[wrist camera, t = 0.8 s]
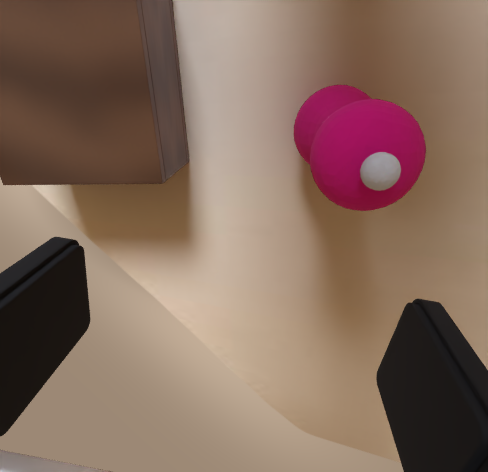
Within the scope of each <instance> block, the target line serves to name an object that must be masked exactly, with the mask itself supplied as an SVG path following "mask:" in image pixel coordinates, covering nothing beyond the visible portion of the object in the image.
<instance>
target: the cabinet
mask: <svg viewBox="0 0 488 472" xmlns="http://www.w3.org/2000/svg"><path fill="white" fill-rule="evenodd" d="M188 162H189V154H188V145H187V136H186V127H185V117H184V108H183V99H182V89H181V80H180V71H179V62H178V52H177V43H176V34H175V24H174V15H173V6H172V0H0V177H1V180H2V183H3V185H62V184H162V183H164V182H165V181H166V180H167V179H168V178H170V177H171V176H172V175H173V174H174V173H176V172H177V171H178V170H179V169H180V168H182V167H183V166H184V165H185V164H186V163H188Z"/></svg>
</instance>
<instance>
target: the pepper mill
mask: <svg viewBox="0 0 488 472" xmlns="http://www.w3.org/2000/svg"><path fill="white" fill-rule="evenodd" d="M294 140H295V144H296V147H297V149H298V151H299V153H300V155H301V156H302V157H303V158H304V160H305V161H306V162H307V163H308V164H310V167H311V172H312V175H313V178H314V181H315V183H316V185H317V186H318V188H319V189H320V190H321V192H322V193H323V194H324V195H325V196H326V197H327V198H328V199H329V200H331V201H332V202H334V203H335V204H337V205H339V206H342V207H344V208H348V209H352V210H360V211H368V210H375V209H379V208H383V207H386V206H388V205H390V204H392V203H394V202H396V201H397V200H399V199H400V198H402V197H403V196H404V195H405V194H406V193H407V192H408V191H409V190H410V189H411V188H412V186H413V185H414V183H415V182H416V181H417V179H418V177H419V175H420V173H421V171H422V168H423V165H424V161H425V154H426V146H425V140H424V135H423V133H422V131H421V128H420V126H419V124H418V122H417V121H416V120H415V119H414V118H413V116H412V115H411V114H409V113H408V112H407V111H406V110H405V109H403V108H402V107H400V106H398V105H396V104H394V103H392V102H388V101H384V100H380V99H371V98H370V97H369V96H368V95H367V94H365V93H364V92H362V91H361V90H359V89H357V88H355V87H352V86H348V85H334V86H328V87H326V88H323V89H321V90H319V91H317V92H316V93H314V94H313V95H312V96H310V97H309V98H308V99H307V100H306V101H305V103H304V104H303V105H302V107H301V108H300V110H299V112H298V114H297V117H296V120H295V125H294Z"/></svg>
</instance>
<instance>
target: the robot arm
mask: <svg viewBox="0 0 488 472" xmlns="http://www.w3.org/2000/svg"><path fill="white" fill-rule="evenodd" d="M85 267H86V266H85V256H84V249H83V247H82V246H79V243H78V242H77V241H76V240H72V239H66V238H61V237H54V238H51V239H50V240H49V241H47V242H46V243H44V244H43V245H41V246H40V247H38V248H37V249H35V250H34V251H32V252H31V253H30V254H28V255H27V256H25V257H24V258H22V259H21V260H19V261H18V262H16V263H15V264H13V265H12V266H11V267H9V268H8V269H6V270H5V271H3V272H2V273H0V436H2V435H4V434H5V433H6V432H7V431H8V430H9V429H10V427H11V426H12V425H13V424H14V422H15V421H16V420H17V418H18V417H19V416H20V415H21V413H22V412H23V411H24V409H25V408H26V407H27V406H28V404H29V403H30V402H31V401H32V399H33V398H34V397H35V395H36V394H37V393H38V392H39V390H40V389H41V388H42V387H43V385H44V384H45V383H46V382H47V380H48V379H49V378H50V376H51V375H52V374H53V373H54V371H55V370H56V369H57V368H58V366H59V365H60V364H61V362H62V361H63V360H64V359H65V357H66V356H67V355H68V354H69V352H70V351H71V350H72V349H73V347H74V346H75V345H76V343H77V342H78V341H79V340H80V338H81V337H82V336H83V335H84V333H85V332H86V331H87V329H88V327H89V324H90V310H89V299H88V288H87V278H86V268H85ZM377 385H378V388H379V392H380V395H381V398H382V401H383V405H384V408H385V411H386V415H387V418H388V421H389V424H390V428H391V431H392V434H393V437H394V441H395V444H396V447H397V450H398V454H399V457H400V460H401V464H402V467H403V470H404V472H488V370H487V369H486V367H485V366H484V364H483V363H482V362H481V360H480V359H479V357H478V356H477V354H476V353H475V352H474V350H473V349H472V347H471V346H470V344H469V343H468V342H467V340H466V339H465V337H464V336H463V334H462V333H461V332H460V330H459V329H458V327H457V326H456V324H455V323H454V322H453V320H452V319H451V317H450V316H449V314H448V313H447V312H446V310H445V309H444V307H443V306H442V305H441V304H440V303H439V302H434V301H428V300H422V299H415V300H414V301H413V303H408V304H406V306H405V308H404V310H403V313H402V315H401V317H400V320H399V322H398V324H397V327H396V329H395V331H394V334H393V336H392V338H391V341H390V343H389V345H388V348H387V350H386V352H385V355H384V357H383V359H382V362H381V364H380V366H379V369H378V371H377ZM0 472H111V471H106V470H101V469H96V468H91V467H85V466H81V465H75V464H70V463H65V462H60V461H55V460H50V459H44V458H39V457H34V456H29V455H23V454H19V453H13V452H8V451H3V450H0Z"/></svg>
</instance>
